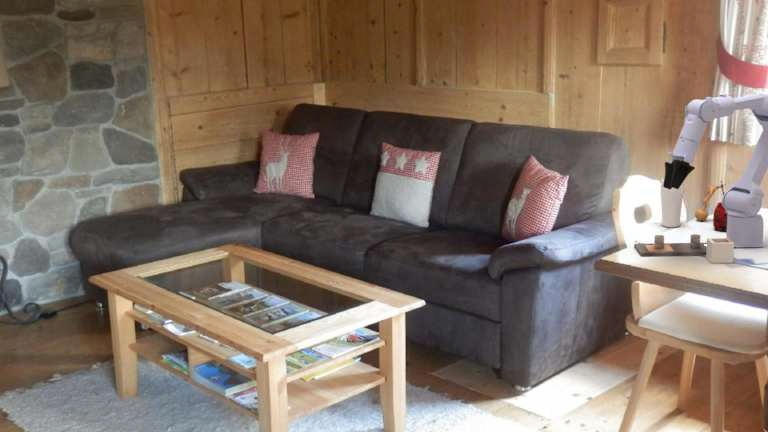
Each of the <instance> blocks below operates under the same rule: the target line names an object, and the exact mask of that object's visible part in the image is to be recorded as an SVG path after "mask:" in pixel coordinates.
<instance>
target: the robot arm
mask: <svg viewBox="0 0 768 432" xmlns="http://www.w3.org/2000/svg"><path fill="white" fill-rule="evenodd" d="M739 110H740V111H741V110H751V112H752V114H753V116H754V117H755V119H756V121H757V122H758V124H759V125H760V126H761V128H762V132H761V134H760V136H759V138H758V140H757V143H756V145H755V146H754V149H753V151H752V154H751V155H750V157H749V160H748V162H747V164H746V166H745V169H744V171H743V173H742V176H741V177H740V179H738V180H736V181H734V182H733V183H731V184H730V186H729V188H728V189H727V191H724V195H723V194H722V198H721V202H722V205H723V207H724V209H726V213H727V214H728V215H727V231H726V237H725V238H729V239H730V240H731V241H732V242H733V243H734V247H735V248H763V247H764V227H765V226H764V225H765V224H764V218H763V216H762V215H761V214H760V213H759V212H761V208H762V205H763V204H762V203H763V199H764V196H765V193H764V191H763V190H762V187H761V186H760V185H761V184H762V182H763V179H764V177H765V176H766V173H767V171H768V94H764V93H751V94H747V95H744V96H739V97H735V98H733V97H732V96H731V95H727V93H720V94H718V96H717V97H716V96H715V97H711V96H706V97H705V98H704V99H693V100H691V101H690V102H689V103H688V104H687V105H685V108H684V114H685V115H684V120H683V121H684V123H683V126H682V128H681V131H680V133H679V136H678V139H677V141H676V143H675V146H674V149H673V150H672V151H673V152H672V151H668V152H667V155H669V156H671V160H670V162H668V161H665V162H664V168H665V169H664V172H665V173H664V178H663V179H664V184H663V187H665V188H667V189H670V190H671V188H672V187H673V188H675V189H679V187H680V186H681V184H682V183H683V184H684V181H685V179H686V178H687V177H688V176H689V174H691V173H692V172H693V171H694V170H695V169H696V168H695V166H693V165H691V164H694V161H695V160H694V159H695V157H696V154H697V152H698V149H699V147H700V144H701V142H702V139H703V137H704V134H705V132H706V129H707V126H708V124H709V123H711V122H713V121H714V120H715V119H720V118H724V117H730V116H733V114H734V112H735V111H739Z"/></svg>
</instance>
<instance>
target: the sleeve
mask: <svg viewBox="0 0 768 432" xmlns="http://www.w3.org/2000/svg"><path fill="white" fill-rule="evenodd" d="M706 243H707V249H706V255H705V257H706V259H707V260H708V261H709V262H710V264H733V263H734V253H735V248H734V243H733V242H732V241H731V240H730V239H729V238H726V237H713V238H712V237H707V238H706Z"/></svg>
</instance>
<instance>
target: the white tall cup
mask: <svg viewBox="0 0 768 432" xmlns="http://www.w3.org/2000/svg"><path fill="white" fill-rule="evenodd" d="M660 181H661V182H660V200H661V201H660V202H661V203H660V204H661V220H662V221H661V225H662V226H663V227H664V228H678V227H679V226H680V224H681V215H682V213H681V212H682V204H683V198H684V182H683V183H682V184H681V186H680V187H679V189H675V188H673V187H672V188H671V190H670V189H667V188H665V187H663V184H664V178H662V179H661V180H660Z"/></svg>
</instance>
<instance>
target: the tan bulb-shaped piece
mask: <svg viewBox="0 0 768 432" xmlns="http://www.w3.org/2000/svg"><path fill="white" fill-rule="evenodd" d="M706 188H707V192H706V193H707V194H706V196H705V198H703V200H702V203H703V205H704V206H703V207H701V208H698V209H697V210H695V213H694V216H695V218H696V220H698V221H700V222H703V221H705V220H708V218H709V212H708V210H706V209H707V206H708V203H707V202H708V201H709V200H710V199H711V198H712V197H713V196H714V194H715V193H716V191H717V189H716V186H712V185H710V184H707V185H706Z"/></svg>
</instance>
